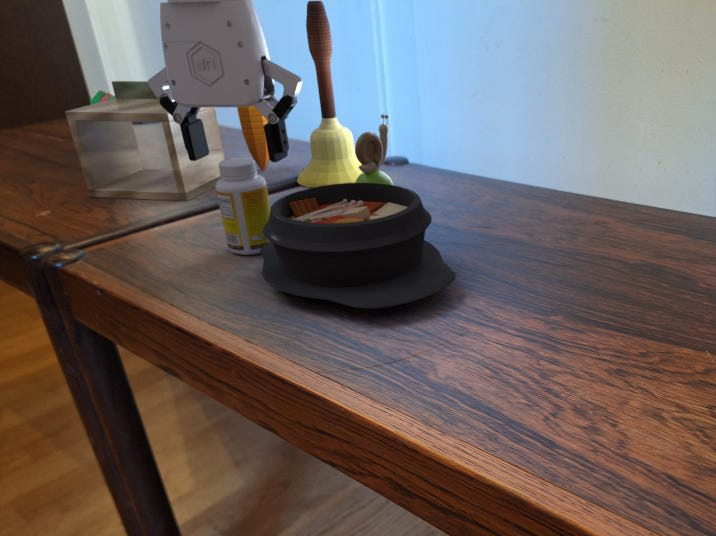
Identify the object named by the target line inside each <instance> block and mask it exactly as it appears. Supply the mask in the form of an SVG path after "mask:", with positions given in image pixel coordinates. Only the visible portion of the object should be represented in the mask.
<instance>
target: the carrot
mask: <svg viewBox="0 0 716 536" xmlns="http://www.w3.org/2000/svg"><path fill="white" fill-rule="evenodd" d="M236 110H237V114H238V118H239V124H240V128H241V132H242V135H243V139H244V141H245V144H246V146H247V149H248V151H249V154H250V155H251V158H252V159H254V160H255V164H256V166H257V167H258V168H259V169H260V170H261V171H263V172H264V171H265V170H266V169H267V168H268V165H269V162H270V159H269V154H268V148H267V143H266V137H265V132H264V125H265V124H267V123H268V121H267V120H266V118H265V117H264V116H263V115H262V114H261V113H260V112H259V111H258V110H257V109H256V108H255V107H254V105H252V106H248V107H236Z"/></svg>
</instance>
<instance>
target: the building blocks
mask: <svg viewBox="0 0 716 536" xmlns="http://www.w3.org/2000/svg"><path fill="white" fill-rule="evenodd" d="M112 99H116V97H115V94H111V93H110V92H105V91H104V90H102V89H99V90H98V91H97V92H96V93H95V94H94V95H93V97H92V98H91V100H90V105H92V104H96V103H100V102H104V101H108V100H112ZM140 123H141V124H143V123H144V122H140Z"/></svg>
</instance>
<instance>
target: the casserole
mask: <svg viewBox="0 0 716 536" xmlns="http://www.w3.org/2000/svg"><path fill="white" fill-rule="evenodd" d="M270 208H271V209H270V215H269V220H268V222H267V223H266V224H265V226H264V227H263V234H264V236H265V237H266V238H267V239H268V240H269V241H270V242H268V243H267V244H265V245H264V246H263V247H262V249H261V250H260V252H261V253H260V255H261V257H262V260H263V264H262V270H261V271H262V272H261V275H262V277H263V280H264V281H265V282H266V283H267V284H268V285H269V286H270V287H272V288H275V289H277V290H279V291H281V292H283V293H287V294H288V295H293V296H297V297H301V298H302V297H303V298H309V299H315V300H323V301H330V302H332V303H333V302H334V303H337V304H340V305H343V306H346V307H350V308H355V309H363V310H364V309H365V310H375V309H385V308H390V307H396V306H400V305H406V304H409V303H412V302H416V301H419V300H422V299H425V298H427V297H430V296H433V295H435V294H437V293H439V292H440V291H443V290H444V289H447V288H448V287H449V286H450V285H451V284H453V283H454V281H456V275H457V274H456V273H455V272H454V270H453V269H452V268H451V267H450V266H449V265H447V264H446V262H444V259H443V257H442V255H441V253H440V250H439V249H438V248H437V247H436V246H434V244H432V243H431V242H429V241H427V240H425V236H426V230H427V229H428V228H429V226H430V225H431V224H432V220H433V219H432V214H431V213H430V212H429V211H428V210H427V209H425V206H424V204H423V201H422V199H421V197H420V195H419V194H418V193H416V192H415V191H414V190H411V189H409V188H407V187H403V186H399V185H395V184H394V185H388V184H378V183H343V184H333V185H325V186H319V187H314V188H312V187H308V188H305V189H302V190H298V191H295V192H293V193H289V194H287V195H284V196H283V197H280V198H279V199H277V200H276V201H274V202H273V204H272V205H270Z"/></svg>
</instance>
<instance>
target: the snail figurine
mask: <svg viewBox="0 0 716 536" xmlns="http://www.w3.org/2000/svg"><path fill="white" fill-rule="evenodd" d="M389 117H390V116H389V115H388V114H383V113H381V115H380V118H381V119H382V123H381V124H380V125H379V126H378V133H379V135H378V134H377V133H375V132H373V131H365V132H363V133H361V134H360V136H359V137H358V138H357V140H356V143H355V145H354V148H355V154H356V157H357V159H358V161H359V162H360V163H361V164H362V165H360V166H359V169H360V170H361V171H362V172H363V173H362V174H360V175H359V177H358V178H357V179H356V181H355V183H378V184H388V185H394V186H395V184H394V182H393V180H392V179H391V177H390V176H389V175H388V174H387V173H386V172H384V171H382V170H379V169H380V168H381V167H382V166H383V165H384V163H385V161H386V158H387V154H388V149H389V148H388V147H389V145H388V144H389V137H388V136H389V131H390V129H389V126H388V125H389V124H388V123H389V122H388V121H389V120H388V119H389ZM384 119H386V123H385V121H384Z"/></svg>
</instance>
